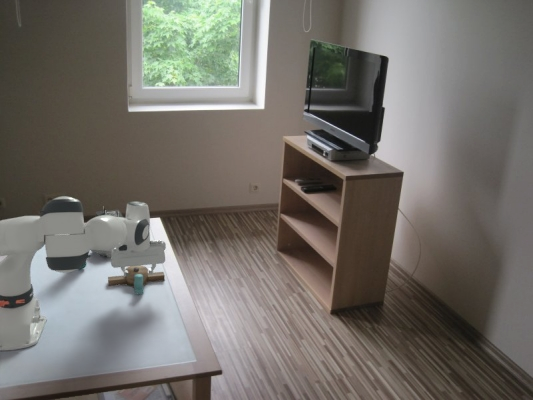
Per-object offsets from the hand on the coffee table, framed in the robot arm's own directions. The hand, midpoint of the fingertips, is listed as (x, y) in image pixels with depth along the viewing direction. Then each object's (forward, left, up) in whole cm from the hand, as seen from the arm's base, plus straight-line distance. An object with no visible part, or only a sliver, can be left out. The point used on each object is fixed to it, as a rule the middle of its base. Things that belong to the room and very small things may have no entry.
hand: (138, 274), depth 222 cm
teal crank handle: (+1, 0, -7) cm, 8 cm away
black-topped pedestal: (+57, +7, -9) cm, 58 cm away
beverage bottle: (+24, +22, -8) cm, 34 cm away
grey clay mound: (+36, +11, -8) cm, 39 cm away
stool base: (+12, 0, -8) cm, 15 cm away
